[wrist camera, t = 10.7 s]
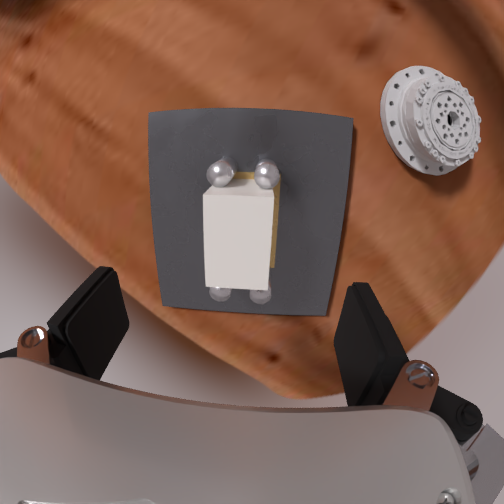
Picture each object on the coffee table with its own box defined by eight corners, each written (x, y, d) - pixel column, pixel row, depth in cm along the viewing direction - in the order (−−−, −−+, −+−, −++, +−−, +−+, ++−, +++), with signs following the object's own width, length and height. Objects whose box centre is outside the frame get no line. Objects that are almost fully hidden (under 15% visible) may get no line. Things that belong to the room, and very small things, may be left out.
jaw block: (219, 178, 21) (202, 194, 15) (271, 180, 20) (274, 197, 15) (219, 249, 23) (205, 286, 18) (267, 252, 23) (267, 290, 17)
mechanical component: (475, 117, 17) (405, 48, 16) (503, 119, 13) (430, 36, 12) (435, 193, 21) (358, 127, 20) (462, 205, 17) (379, 127, 16)
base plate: (153, 113, 19) (125, 109, 15) (349, 118, 19) (372, 115, 14) (165, 300, 27) (149, 331, 22) (323, 309, 26) (333, 343, 22)
